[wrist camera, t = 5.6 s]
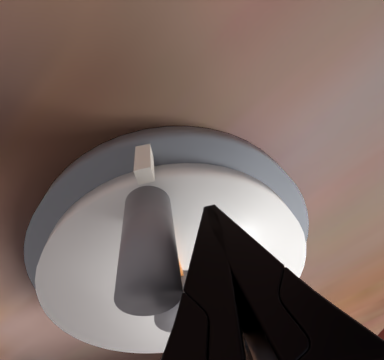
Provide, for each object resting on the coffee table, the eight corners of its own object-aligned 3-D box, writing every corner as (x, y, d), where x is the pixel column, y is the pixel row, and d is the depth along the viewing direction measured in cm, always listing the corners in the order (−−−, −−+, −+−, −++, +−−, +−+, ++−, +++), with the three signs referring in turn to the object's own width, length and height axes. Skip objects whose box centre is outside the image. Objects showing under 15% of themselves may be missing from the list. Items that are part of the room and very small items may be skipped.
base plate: (287, 288, 20) (311, 332, 17) (97, 335, 20) (89, 390, 17) (308, 95, 12) (363, 118, 9) (-35, 166, 11) (-102, 219, 8)
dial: (291, 302, 18) (338, 389, 14) (108, 353, 18) (96, 458, 13) (300, 127, 10) (411, 200, 6) (-24, 211, 10) (-152, 352, 6)
